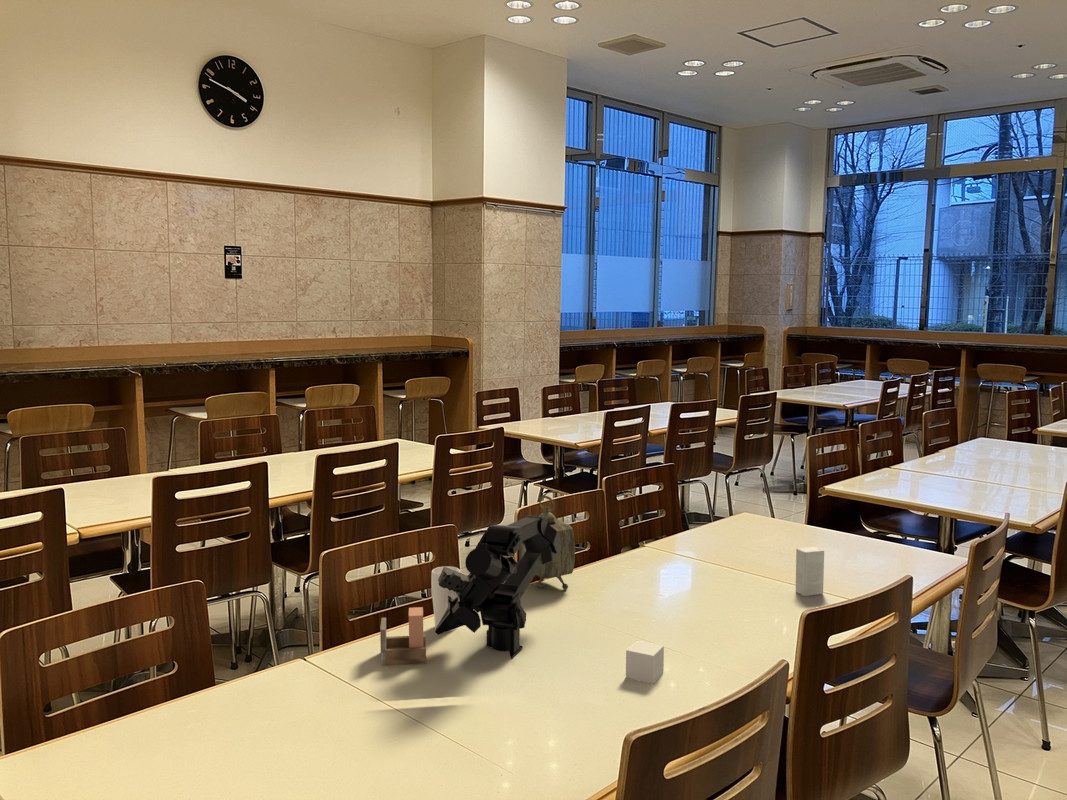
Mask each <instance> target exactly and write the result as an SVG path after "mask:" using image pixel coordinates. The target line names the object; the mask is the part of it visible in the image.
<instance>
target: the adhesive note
mask: <svg viewBox="0 0 1067 800" xmlns="http://www.w3.org/2000/svg"><path fill="white" fill-rule="evenodd" d="M664 654H665V645H662V644H657V643H651V642H647V641H641V640H636V641H635V642H634V643H633V644H632V645H630V646H629V647H628V648H627V649H626V650H625V678H626V679H630V680H634V681H639V682H643V683H647V684H654V683H656V682H657V680H659V678H660V677H661V676H662V675H663V674H664V659H665V656H664Z"/></svg>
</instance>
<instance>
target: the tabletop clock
mask: <svg viewBox="0 0 1067 800" xmlns="http://www.w3.org/2000/svg"><path fill="white" fill-rule="evenodd" d="M543 499H547V500H549V501H550V502H551V504H552V508H551V509H550V507H549V506H547V505H546V506H543V505H542V500H543ZM538 503H539V506H540V507H539V508H541V509H542V510H543V511H544V512H541V513H540V514H539V515H538V516H540V517H543V518H545V519H546V521H547V523H548V524H549V525H550V526H551V527H552V528H554V529H555V530H556V531H557V532H558V535H559V537H560V540H561V550H560V552H559V553H558V554H557V556H556V557H555V558H554V559H553V560H552V561H551V562H548V563H546V564H543V565H541V567H540V568H539V570H538V572H537V573H536V575H535V576H537V577H539V581H538V582H537V583H536V587H537V588H539V589H541V588H542V587H543V585H544V584H543V583H542V581H543V580H544V579H546V580H548V579H553V578H556V579H558V580H559V581H560V582H561V584H562V585H561V588H562V589H563V590H565V591H566V590H568V588H569V585H568V584H567V583H565V582H564V580H563V578H562V576H567V575H571V574H573V572H574V568H575V560H576V559H575V557H576V547H575V546H576V543H575V533H574V528H573V527H572V526H571V525H570V524H568V523H566V522H565V521H562V520H561V519H557V517H556V515H554V514H553V513H552V512H553V511H554V510H555V507H556V505H555V502H554V500H553V498H551V497H550V496H548V495H542V496H541V497H540V498H539V500H538ZM518 551H519V552H518V554H519V560H520V559H521V557H522V556H523V555H524V553H525V547H524V545H523V543H521V548H520V549H519V550H518Z"/></svg>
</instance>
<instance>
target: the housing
mask: <svg viewBox="0 0 1067 800" xmlns="http://www.w3.org/2000/svg"><path fill="white" fill-rule="evenodd" d="M380 620H381V621H380V630H379V631H380V632H379V633H380V634H379V635H380V639H379V641H380V666H385V667H389V666H390V667H391V666H393V667H394V666H406V665H409V666H411V665H423V664H424V665H427V645H426V640H427V639H426V634H423V647H417V648H409V635H397V636H387V617H381V619H380Z"/></svg>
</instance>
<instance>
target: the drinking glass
mask: <svg viewBox="0 0 1067 800" xmlns="http://www.w3.org/2000/svg"><path fill="white" fill-rule="evenodd" d="M444 567H447V568H450V569H452V570H455V571H457V572H460V573H461V570H460V568H458V567H456V566H450V565H449V566H448V565H447V566H438V567H435V568H433V569H432V570H431V574H430V575H431V578H430V579H431V585H430V586H431V596H432V597H431V598H432V607H433V615H434V616H433V617H434V630H435V629H436V627H437V625H438V624H439V622H440V620H441V619H442V617H443V615H444V613H445V611H446V610H447V608H448V596H450V597H452V596H453V595H454V594H455V592H454V591H452V590H451V591H449V590H448V589H447V588H442V587H440V586H439V581H438V579H439V576H440V574H441V572H442V570H443V568H444ZM457 629H458V628H455V629H452V630H450V631H447V632H446V633H450V632H454V631H456V630H457Z"/></svg>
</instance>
